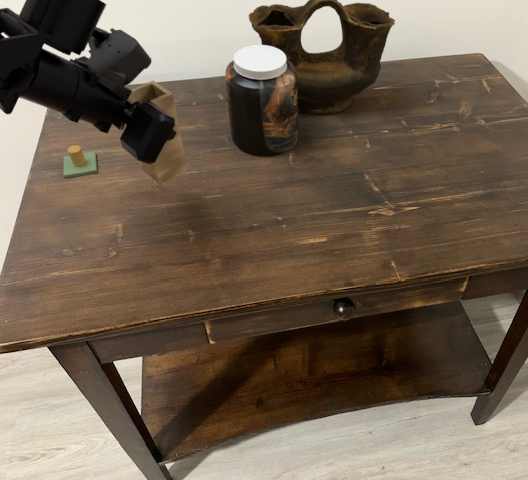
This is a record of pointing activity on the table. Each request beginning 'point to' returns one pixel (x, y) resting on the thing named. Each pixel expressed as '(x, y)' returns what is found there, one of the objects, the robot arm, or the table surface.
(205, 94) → the table surface
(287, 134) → the jar
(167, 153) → the square pencil holder
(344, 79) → the pottery vessel
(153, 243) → the table surface
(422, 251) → the table surface
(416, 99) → the table surface
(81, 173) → the coat peg
